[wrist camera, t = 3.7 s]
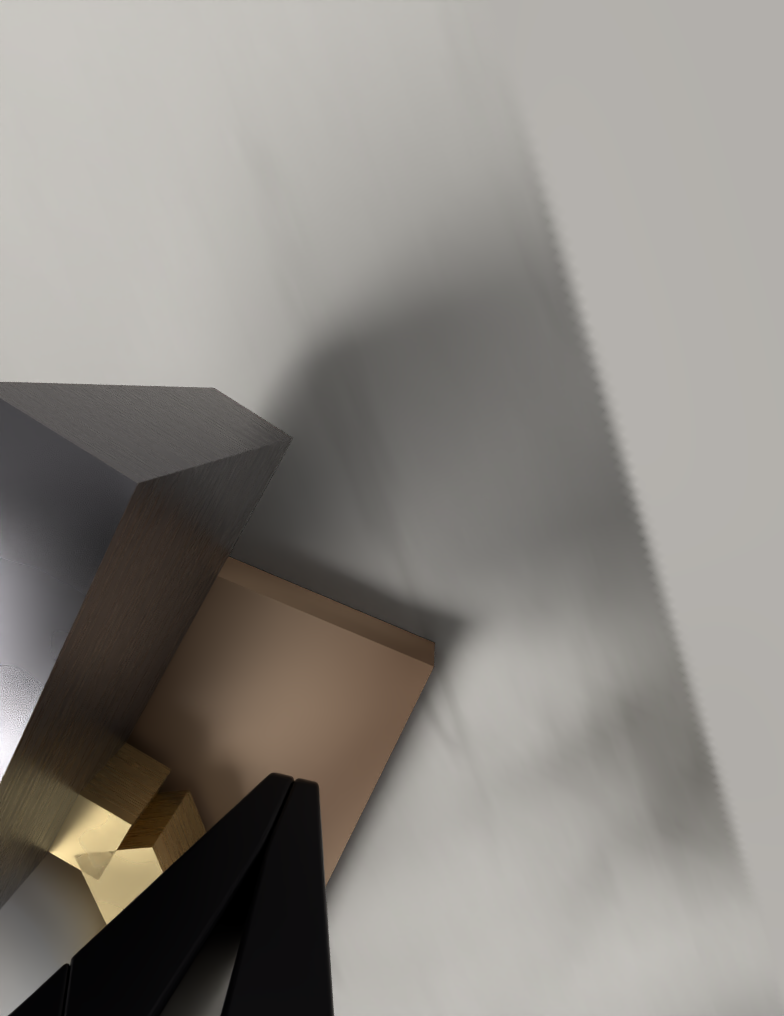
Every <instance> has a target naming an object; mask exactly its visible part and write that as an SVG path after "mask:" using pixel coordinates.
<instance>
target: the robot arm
mask: <svg viewBox="0 0 784 1016" xmlns="http://www.w3.org/2000/svg"><path fill="white" fill-rule="evenodd" d="M8 1016H334V1008H333V993H332V978H331V962H330V947H329V932H328V916H327V901H326V885H325V870H324V855H323V839H322V824H321V808H320V793H319V785H318V783H317V782H315V781H310V780H306V779H302V778H297V779H296V780H295V781H294V778H293V777H292V776H289V775H285V774H281V773H277V772H273V773H270V774H269V775H268V776H267V777H265V778H264V779H263V780H262V781H261V782H260V783H259V784H258V785H257V786H256V787H255V788H254V789H253V790H251V791H250V792H249V793H248V794H247V795H246V796H245V797H244V798H243V799H242V800H241V801H240V802H239V803H237V804H236V805H235V806H234V807H233V808H232V809H231V810H230V811H229V812H228V813H227V814H226V815H225V816H223V817H222V818H221V819H220V820H219V821H218V822H217V823H216V824H215V825H214V826H213V827H212V828H211V829H209V830H208V831H207V832H206V833H205V834H204V835H203V836H202V837H201V838H200V839H199V840H198V841H197V842H195V843H194V844H193V845H192V846H191V847H190V848H189V849H188V850H187V851H186V852H185V853H184V854H183V855H181V856H180V857H179V858H178V859H177V860H176V861H175V862H174V863H173V864H172V865H171V866H170V867H169V868H167V869H166V870H165V871H164V872H163V873H162V874H161V875H160V876H159V877H158V878H157V879H156V880H155V881H153V882H152V883H151V884H150V885H149V886H148V887H147V888H146V889H145V890H144V891H143V892H142V893H141V894H139V895H138V896H137V897H136V898H135V899H134V900H133V901H132V902H131V903H130V904H129V905H128V906H127V907H125V908H124V909H123V910H122V911H121V912H120V913H119V914H118V915H117V916H116V917H115V918H114V919H113V920H111V921H110V922H109V923H108V924H107V925H106V926H105V927H104V928H103V929H102V930H101V931H100V932H99V933H98V934H96V935H95V936H94V937H93V938H92V939H91V940H90V941H89V942H88V943H87V944H86V945H85V946H84V947H82V948H81V949H80V950H79V951H78V952H77V953H76V954H75V955H74V956H73V957H72V958H71V962H70V965H69V964H68V963H66V964H64V965H63V966H62V967H60V968H59V969H58V970H57V971H56V972H55V973H54V974H53V975H52V976H51V977H50V978H49V979H48V980H47V981H45V982H44V983H43V984H42V985H41V986H40V987H39V988H38V989H37V990H36V991H35V992H34V993H33V994H32V995H30V996H29V997H28V998H27V999H26V1000H25V1001H24V1002H23V1003H21V1004H20V1005H19V1006H18V1007H17V1008H16V1009H15V1010H14V1011H13V1012H11V1013H10V1014H9V1015H8Z"/></svg>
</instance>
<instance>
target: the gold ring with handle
mask: <svg viewBox="0 0 784 1016" xmlns="http://www.w3.org/2000/svg"><path fill="white" fill-rule="evenodd" d="M292 439H293V438H292V437H291V436H289V435H288V434H286V433H285V432H283V431H281V430H280V429H278V428H277V427H275V426H274V425H272V424H270V423H269V422H267V421H266V420H264V419H262V418H261V417H259V416H258V415H256V414H255V413H253V412H251V411H250V410H248V409H247V408H245V407H243V406H242V405H240V404H239V403H237V402H236V401H234V400H232V399H231V398H229V397H228V396H226V395H225V394H223V393H221V392H220V391H218V390H217V389H215V388H199V387H164V386H128V385H93V384H58V383H23V382H0V909H1V908H2V907H3V906H4V905H5V903H6V902H7V901H8V900H9V899H10V898H11V896H12V895H13V894H14V893H15V892H16V891H17V889H18V888H19V887H20V886H21V885H22V884H23V882H24V881H25V880H26V879H27V878H28V877H29V876H30V874H31V873H32V872H33V871H34V870H35V869H36V867H37V866H38V865H39V864H40V863H41V862H42V860H43V859H44V858H45V857H46V856H47V855H48V853H49V852H50V853H52V854H53V855H55V856H57V857H59V858H60V859H62V860H64V861H65V862H67V863H69V864H71V865H72V866H74V867H76V868H78V869H79V870H81V872H82V874H83V876H84V878H85V880H86V882H87V884H88V886H89V888H90V891H91V893H92V895H93V897H94V899H95V901H96V903H97V905H98V907H99V910H100V912H101V914H102V916H103V918H104V920H105V922H106V924H108V923H109V922H110V921H111V920H113V919H114V918H115V917H116V916H117V915H118V914H119V913H120V912H121V911H122V910H123V909H124V908H125V907H127V906H128V905H129V904H130V903H131V902H132V901H133V900H134V899H135V898H136V897H137V896H138V895H139V894H141V893H142V892H143V891H144V890H145V889H146V888H147V887H148V886H149V885H150V884H151V883H152V882H153V881H155V880H156V879H157V878H158V877H159V876H160V875H161V874H162V873H163V872H164V871H165V870H166V869H167V868H169V867H170V866H171V865H172V864H173V863H174V862H175V861H176V860H177V859H178V858H179V857H180V856H181V855H183V854H184V853H185V852H186V851H187V850H188V849H189V848H190V847H191V846H192V845H193V844H194V843H195V842H197V841H198V840H199V839H200V838H201V837H202V836H203V835H204V834H205V833H206V831H205V828H204V826H203V823H202V821H201V818H200V815H199V813H198V810H197V808H196V805H195V803H194V800H193V797H192V795H191V792H190V790H180V791H171V792H162V793H158V791H159V790H160V788H161V786H162V785H163V783H164V781H165V780H166V778H167V777H168V775H169V773H170V772H171V769H170V768H168V767H166V766H165V765H163V764H161V763H159V762H158V761H156V760H154V759H153V758H151V757H149V756H148V755H146V754H144V753H143V752H141V751H139V750H138V749H136V748H134V747H133V746H131V745H129V744H127V743H126V742H127V740H128V738H129V736H130V734H131V733H132V731H133V729H134V727H135V725H136V723H137V722H138V720H139V718H140V716H141V714H142V713H143V711H144V709H145V707H146V705H147V703H148V702H149V700H150V698H151V696H152V694H153V692H154V691H155V689H156V687H157V685H158V683H159V682H160V680H161V678H162V676H163V674H164V672H165V671H166V669H167V667H168V665H169V663H170V662H171V660H172V658H173V656H174V654H175V652H176V651H177V649H178V647H179V645H180V643H181V642H182V640H183V638H184V636H185V634H186V632H187V631H188V629H189V627H190V625H191V623H192V622H193V620H194V618H195V616H196V614H197V612H198V611H199V609H200V607H201V605H202V603H203V601H204V600H205V598H206V596H207V594H208V592H209V591H210V589H211V587H212V585H213V583H214V581H215V580H216V578H217V576H218V574H219V572H220V571H221V569H222V567H223V565H224V563H225V561H226V560H227V558H228V556H229V554H230V552H231V551H232V549H233V547H234V545H235V543H236V541H237V540H238V538H239V536H240V534H241V532H242V531H243V529H244V527H245V525H246V523H247V521H248V520H249V518H250V516H251V514H252V512H253V510H254V509H255V507H256V505H257V503H258V501H259V500H260V498H261V496H262V494H263V492H264V490H265V489H266V487H267V485H268V483H269V481H270V480H271V478H272V476H273V474H274V472H275V470H276V469H277V467H278V465H279V463H280V461H281V460H282V458H283V456H284V454H285V452H286V450H287V449H288V447H289V445H290V443H291V441H292Z"/></svg>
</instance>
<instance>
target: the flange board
mask: <svg viewBox="0 0 784 1016" xmlns="http://www.w3.org/2000/svg"><path fill="white" fill-rule="evenodd" d="M434 650H435V643H434V642H431V641H429V640H427V639H424V638H422V637H419V636H417V635H415V634H412V633H410V632H408V631H405V630H403V629H400V628H398V627H396V626H393V625H391V624H388V623H386V622H384V621H381V620H379V619H377V618H374V617H372V616H369V615H367V614H365V613H362V612H360V611H357V610H355V609H353V608H350V607H348V606H346V605H343V604H341V603H338V602H336V601H334V600H331V599H329V598H326V597H324V596H322V595H319V594H317V593H315V592H312V591H310V590H307V589H305V588H303V587H300V586H298V585H296V584H293V583H291V582H288V581H286V580H284V579H281V578H279V577H276V576H274V575H272V574H269V573H267V572H265V571H262V570H260V569H257V568H255V567H253V566H250V565H248V564H245V563H243V562H241V561H238V560H236V559H234V558H231V557H229V556H228V558H227V560H226V561H225V563H224V565H223V567H222V569H221V571H220V572H219V574H218V576H217V578H216V580H215V581H214V583H213V585H212V587H211V589H210V591H209V592H208V594H207V596H206V598H205V600H204V601H203V603H202V605H201V607H200V609H199V611H198V612H197V614H196V616H195V618H194V620H193V622H192V623H191V625H190V627H189V629H188V631H187V632H186V634H185V636H184V638H183V640H182V642H181V643H180V645H179V647H178V649H177V651H176V652H175V654H174V656H173V658H172V660H171V662H170V663H169V665H168V667H167V669H166V671H165V672H164V674H163V676H162V678H161V680H160V682H159V683H158V685H157V687H156V689H155V691H154V692H153V694H152V696H151V698H150V700H149V702H148V703H147V705H146V707H145V709H144V711H143V713H142V714H141V716H140V718H139V720H138V722H137V723H136V725H135V727H134V729H133V731H132V733H131V734H130V736H129V738H128V740H127V742H126V743H127V744H129V745H131V746H133V747H134V748H136V749H138V750H139V751H141V752H143V753H144V754H146V755H148V756H149V757H151V758H153V759H154V760H156V761H158V762H159V763H161V764H163V765H165V766H166V767H168V768H170V769H171V772H170V773H169V775H168V777H167V778H166V780H165V781H164V783H163V785H162V786H161V788H160V790H159V791H158V793H162V792H171V791H180V790H190V792H191V795H192V797H193V800H194V803H195V805H196V808H197V810H198V813H199V815H200V818H201V821H202V823H203V826H204V828H205V831H206V832H207V831H208V830H209V829H211V828H212V827H213V826H214V825H215V824H216V823H217V822H218V821H219V820H220V819H221V818H222V817H223V816H225V815H226V814H227V813H228V812H229V811H230V810H231V809H232V808H233V807H234V806H235V805H236V804H237V803H239V802H240V801H241V800H242V799H243V798H244V797H245V796H246V795H247V794H248V793H249V792H250V791H251V790H253V789H254V788H255V787H256V786H257V785H258V784H259V783H260V782H261V781H262V780H263V779H264V778H265V777H267V776H268V775H269V774H270V773H273V772H277V773H281V774H285V775H289V776H292V777H293V778H294V781H295V780H296V779H297V778H302V779H306V780H310V781H315V782H317V783H318V785H319V793H320V808H321V824H322V839H323V855H324V870H325V885H327V883H328V881H329V879H330V877H331V875H332V873H333V871H334V869H335V866H336V864H337V862H338V860H339V858H340V856H341V854H342V852H343V850H344V848H345V846H346V844H347V842H348V840H349V838H350V836H351V834H352V832H353V830H354V828H355V826H356V824H357V822H358V820H359V818H360V816H361V814H362V812H363V810H364V808H365V806H366V804H367V802H368V799H369V797H370V795H371V793H372V791H373V789H374V787H375V785H376V783H377V781H378V779H379V777H380V775H381V773H382V771H383V769H384V767H385V765H386V763H387V761H388V759H389V757H390V755H391V753H392V751H393V749H394V747H395V745H396V743H397V741H398V739H399V737H400V734H401V732H402V730H403V728H404V726H405V724H406V722H407V720H408V718H409V716H410V714H411V712H412V710H413V708H414V706H415V704H416V702H417V700H418V698H419V696H420V694H421V692H422V690H423V688H424V686H425V684H426V682H427V680H428V678H429V676H430V674H431V672H432V670H433V667H434ZM106 925H107V924H106V922H105V920H104V918H103V916H102V914H101V912H100V910H99V907H98V905H97V903H96V901H95V899H94V897H93V895H92V893H91V891H90V888H89V886H88V884H87V882H86V880H85V878H84V876H83V874H82V872H81V870H79V869H78V868H76V867H74V866H72V865H71V864H69V863H67V862H65V861H64V860H62V859H60V858H59V857H57V856H55V855H53V854H52V853H50V852H49V853H48V855H47V856H46V857H45V858H44V859H43V860H42V862H41V863H40V864H39V865H38V866H37V867H36V869H35V870H34V871H33V872H32V873H31V874H30V876H29V877H28V878H27V879H26V880H25V881H24V882H23V884H22V885H21V886H20V887H19V888H18V889H17V891H16V892H15V893H14V894H13V895H12V896H11V898H10V899H9V900H8V901H7V902H6V903H5V905H4V906H3V907H2V908H1V909H0V1016H8V1015H9V1014H10V1013H11V1012H13V1011H14V1010H15V1009H16V1008H17V1007H18V1006H19V1005H20V1004H21V1003H23V1002H24V1001H25V1000H26V999H27V998H28V997H29V996H30V995H32V994H33V993H34V992H35V991H36V990H37V989H38V988H39V987H40V986H41V985H42V984H43V983H44V982H45V981H47V980H48V979H49V978H50V977H51V976H52V975H53V974H54V973H55V972H56V971H57V970H58V969H59V968H60V967H62V966H63V965H64V964H66V963H68V964H69V965H70V962H71V958H72V957H73V956H74V955H75V954H76V953H77V952H78V951H79V950H80V949H81V948H82V947H84V946H85V945H86V944H87V943H88V942H89V941H90V940H91V939H92V938H93V937H94V936H95V935H96V934H98V933H99V932H100V931H101V930H102V929H103V928H104V927H105V926H106Z"/></svg>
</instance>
